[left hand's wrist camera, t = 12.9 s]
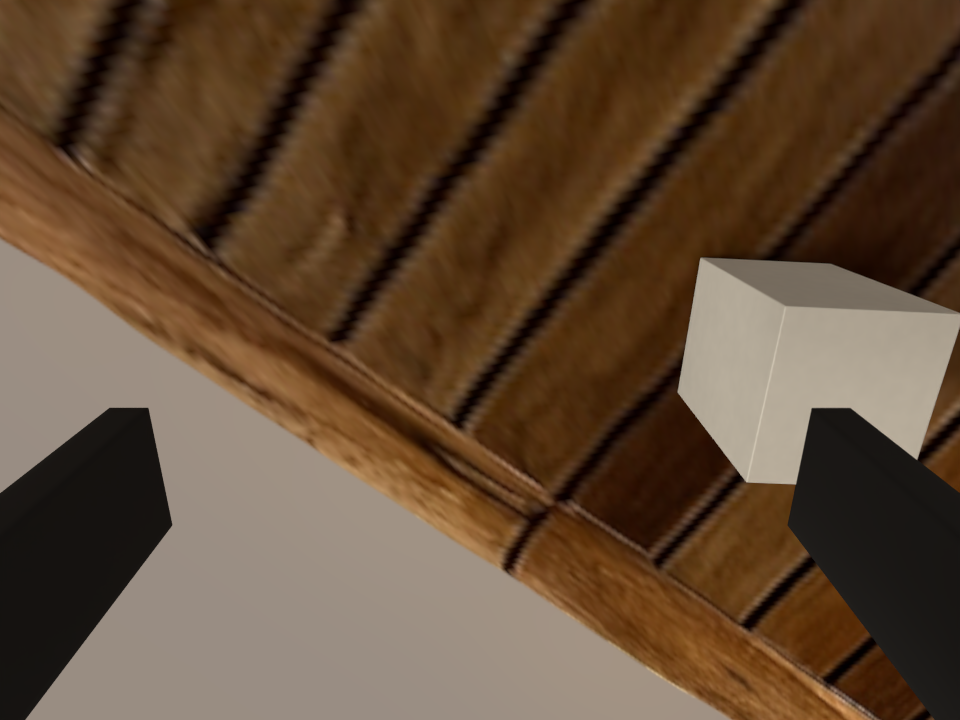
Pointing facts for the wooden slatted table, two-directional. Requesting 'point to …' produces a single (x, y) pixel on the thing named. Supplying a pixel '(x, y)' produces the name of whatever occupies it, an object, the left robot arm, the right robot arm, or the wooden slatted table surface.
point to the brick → (807, 358)
